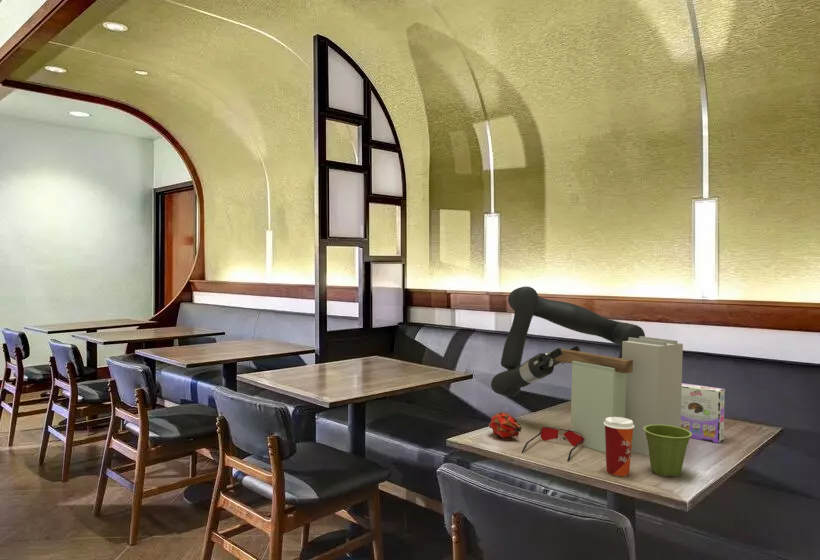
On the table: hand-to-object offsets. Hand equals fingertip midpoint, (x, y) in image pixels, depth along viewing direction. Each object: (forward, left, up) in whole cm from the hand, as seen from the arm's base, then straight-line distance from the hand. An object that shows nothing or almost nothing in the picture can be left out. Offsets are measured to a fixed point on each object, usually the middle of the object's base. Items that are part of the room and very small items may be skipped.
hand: (570, 349), depth 186 cm
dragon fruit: (+17, -11, -28) cm, 35 cm away
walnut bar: (0, +8, -4) cm, 9 cm away
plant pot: (+3, +35, -28) cm, 45 cm away
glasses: (+14, +6, -29) cm, 32 cm away
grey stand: (-11, +21, -28) cm, 37 cm away
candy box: (-36, +22, -28) cm, 51 cm away
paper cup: (+14, +28, -28) cm, 42 cm away
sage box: (0, +11, -28) cm, 30 cm away
